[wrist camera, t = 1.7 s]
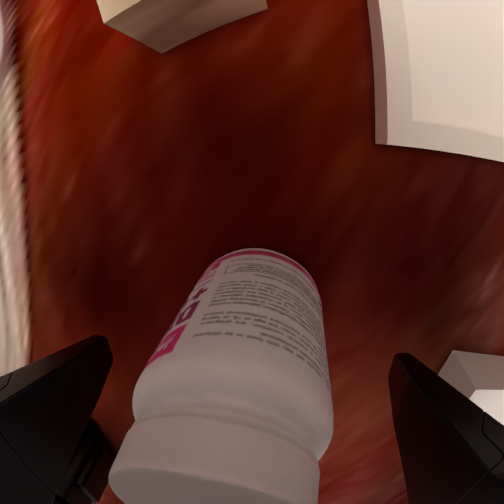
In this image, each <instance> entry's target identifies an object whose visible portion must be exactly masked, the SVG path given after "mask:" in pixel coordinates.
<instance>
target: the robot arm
mask: <svg viewBox="0 0 504 504" xmlns="http://www.w3.org/2000/svg"><path fill="white" fill-rule="evenodd" d="M112 362H113V356H112V352H111V349H110V346H109V343H108V340H107V338H106V337H105V336H100V335H93V336H91V337H89V338H87V339H84V340H82V341H80V342H78V343H76V344H73V345H71V346H69V347H67V348H64V349H62V350H60V351H58V352H56V353H53V354H51V355H49V356H47V357H44V358H42V359H40V360H38V361H35V362H33V363H31V364H29V365H26V366H24V367H22V368H20V369H17V370H15V371H13V372H10V373H8V374H6V375H4V376H1V377H0V504H92V502H93V503H97V502H99V500H100V498H101V496H102V494H103V492H104V489H105V487H106V485H107V483H108V481H109V480H108V478H109V473H110V470H111V467H112V465H113V463H114V461H115V457H114V455H113V454H112V452H111V450H110V449H109V447H108V445H107V444H106V442H105V440H104V438H103V437H102V435H101V433H100V431H99V429H98V428H97V426H96V424H95V423H94V422H93V421H91V420H89V418H90V416H91V414H92V412H93V410H94V408H95V406H96V404H97V402H98V399H99V397H100V395H101V392H102V389H103V386H104V384H105V381H106V378H107V376H108V373H109V370H110V368H111V365H112ZM388 381H389V389H390V397H391V406H392V415H393V423H394V428H395V433H396V437H397V442H398V447H399V451H400V456H401V461H402V467H403V472H404V477H405V483H406V489H407V495H408V501H409V504H504V425H502V424H501V423H500V422H498V421H497V420H496V419H494V418H493V417H492V416H490V415H489V414H488V413H487V412H485V411H484V412H483V409H481V408H480V407H479V406H477V405H476V404H475V403H474V402H472V401H471V400H470V399H468V398H467V397H466V396H465V395H463V394H462V393H461V392H459V391H458V390H457V389H456V388H454V387H453V386H452V385H450V384H449V383H448V382H446V381H445V380H444V379H442V378H441V377H440V376H439V375H437V374H436V373H435V372H433V371H432V370H431V369H429V368H428V367H427V366H425V365H424V364H423V363H422V362H420V361H419V360H418V359H416V358H415V357H414V356H412V355H411V354H410V353H397V354H395V356H394V359H393V362H392V365H391V369H390V372H389V377H388Z"/></svg>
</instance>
